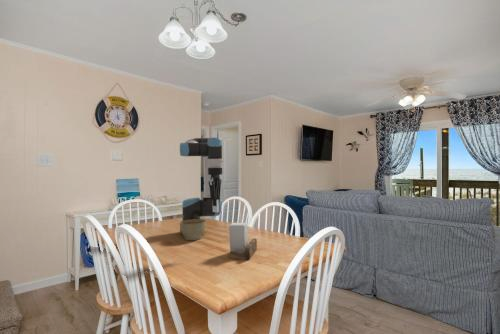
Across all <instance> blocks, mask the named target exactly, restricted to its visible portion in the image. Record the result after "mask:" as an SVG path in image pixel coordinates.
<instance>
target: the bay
mask: <svg viewBox="0 0 500 334" xmlns="http://www.w3.org/2000/svg"><path fill="white" fill-rule="evenodd" d="M257 241H258V240H257V238H251V240H250V241H248V245H247V246H246V247H245V252H235V251H230V250H229V254H228V255H229V256H228V257H229V260H243V261H249V260H251V258H252V257H253V255H254V254H255V253H256V252H257V247H258V246H257Z"/></svg>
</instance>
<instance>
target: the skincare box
mask: <svg viewBox="0 0 500 334" xmlns="http://www.w3.org/2000/svg"><path fill="white" fill-rule="evenodd" d="M228 230H229V233H228V234H229V252H230V251H235V252H245V247H246V246H247V245H248V244H249V237H248V236H249V235H248V233H249V231H248V222H232V223H230V224H229V225H228Z"/></svg>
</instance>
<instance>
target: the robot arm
mask: <svg viewBox="0 0 500 334" xmlns="http://www.w3.org/2000/svg"><path fill="white" fill-rule="evenodd" d="M222 140H223V139H222V138H221V137H195V138H194V137H193V138H191V139H187V140H186V141H185V142H180V143H179V155H180V156H181V157H201V158H202V159H203V160H204V195H203V196H202V199H200V197H192V198H191V197H190V198H186V199H184V200H182V205H181V206H182V207H181V208H182V221H184V220H190V219H201V218H202V217H217V216H219V217H220V215H221V213H222V208H223V199H222V198H221V188H222V179H221V177H220V175H222V174H223V162H224V161H223V141H222ZM179 229H180V228H179ZM179 234H180V235H183V234H182V232H181V229H180V230H179ZM183 236H184V235H183Z"/></svg>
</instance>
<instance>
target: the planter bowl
mask: <svg viewBox="0 0 500 334" xmlns="http://www.w3.org/2000/svg"><path fill="white" fill-rule="evenodd" d="M206 222H207V220H205V219H201V218H200V219H190V220H184V221H183V220H181V221H179V225H180V226H179V229H181V232H182V234H183V236H184V239H185V240H186V241H197V240H201V238H202V236H203V234H204V233H205V229H206ZM182 234H181V235H182Z"/></svg>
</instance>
